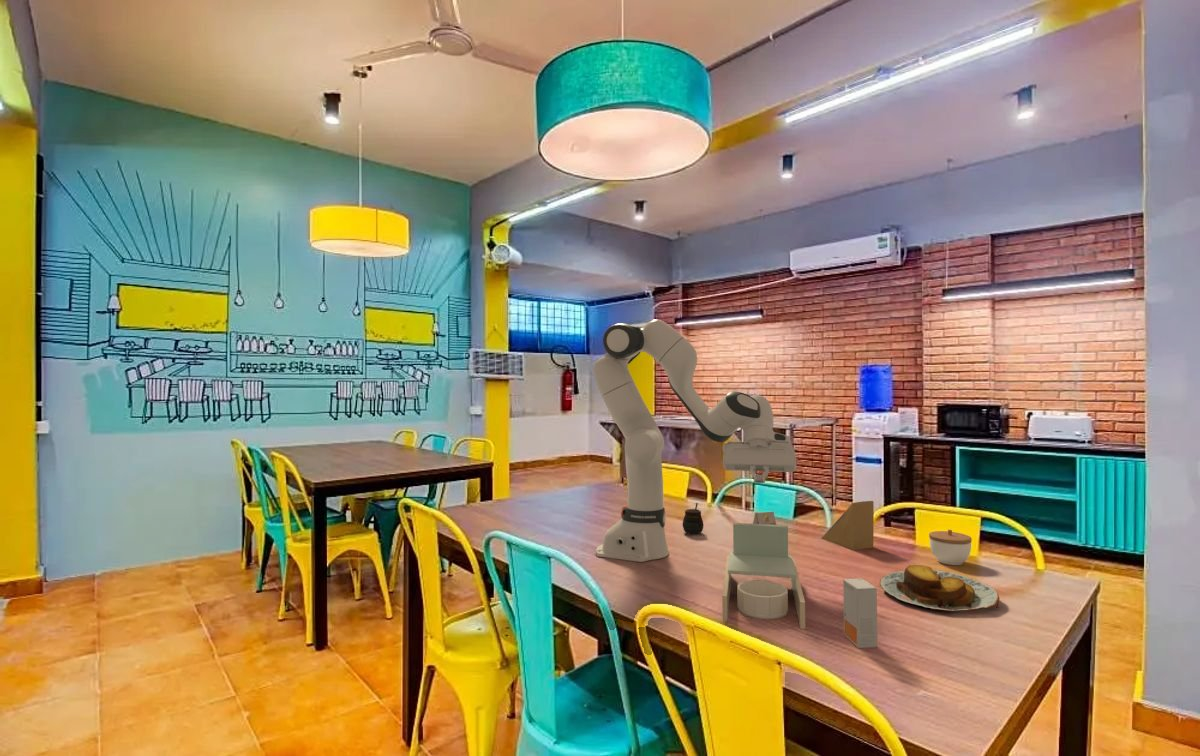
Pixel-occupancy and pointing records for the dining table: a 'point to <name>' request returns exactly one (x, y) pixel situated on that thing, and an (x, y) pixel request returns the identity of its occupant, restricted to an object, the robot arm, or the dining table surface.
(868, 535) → the sandwich container
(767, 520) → the tea bag
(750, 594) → the bowl stand
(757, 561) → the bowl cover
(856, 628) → the skincare box
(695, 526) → the mate gourd
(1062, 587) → the dining table surface
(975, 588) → the food on plate
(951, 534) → the lidded jar
